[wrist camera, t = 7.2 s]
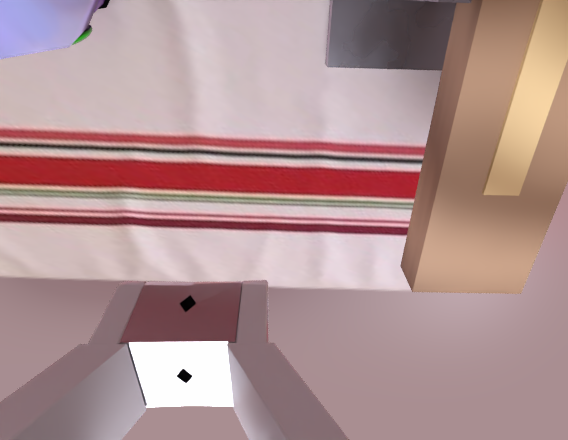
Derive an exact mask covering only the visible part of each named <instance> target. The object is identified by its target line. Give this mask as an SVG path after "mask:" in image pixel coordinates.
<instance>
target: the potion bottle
mask: <svg viewBox="0 0 568 440" xmlns="http://www.w3.org/2000/svg"><path fill="white" fill-rule="evenodd" d="M109 1H110V0H0V59H4V58H9V57H15V56H21V55H27V54H33V53H38V52H44V51H50V50H56V49H61V48H67V47H70V46H71V45H73V44H76V43H78V42H80V41H82V40H84V39H85V38H87V37H88V36H89V35H90V33H91V32H92V27H91V25H89V23H90V21H91V18H92V15H93V13H94V12H95V11H96V10H97V9H101V8H106V7H107V5H108V3H109Z"/></svg>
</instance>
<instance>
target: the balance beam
mask: <svg viewBox="0 0 568 440" xmlns="http://www.w3.org/2000/svg"><path fill="white" fill-rule="evenodd" d="M567 182H568V0H472V1H471V3H456V8H455V13H454V17H453V22H452V27H451V32H450V36H449V41H448V46H447V50H446V55H445V60H444V64H443V69H442V74H441V79H440V83H439V88H438V93H437V97H436V102H435V107H434V111H433V116H432V121H431V125H430V130H429V135H428V140H427V144H426V149H425V154H424V158H423V163H422V168H421V172H420V177H419V182H418V187H417V191H416V196H415V201H414V205H413V210H412V215H411V219H410V224H409V229H408V234H407V238H406V243H405V248H404V252H403V257H402V262H401V268H402V270H403V272H404V275H405V277H406V279H407V281H408V283H409V286H410V288H411V290H412V292H446V293H447V292H449V293H505V294H506V293H507V294H509V293H510V294H521V292H522V290H523V288H524V285H525V283H526V280H527V278H528V276H529V273H530V271H531V268H532V266H533V263H534V261H535V258H536V256H537V254H538V252H539V249H540V247H541V244H542V242H543V239H544V237H545V235H546V232H547V230H548V227H549V225H550V223H551V220H552V218H553V215H554V213H555V211H556V208H557V206H558V203H559V201H560V199H561V196H562V194H563V191H564V189H565V186H566V184H567Z"/></svg>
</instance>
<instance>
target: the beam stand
mask: <svg viewBox="0 0 568 440" xmlns="http://www.w3.org/2000/svg"><path fill="white" fill-rule="evenodd" d="M471 1H472V0H330V10H329V23H328V37H327V50H326V63H325V64H326V66H327V67H341V68H377V69H413V70H442V69H443V64H444V60H445V55H446V50H447V46H448V41H449V36H450V32H451V27H452V22H453V17H454V13H455V8H456V3H471Z"/></svg>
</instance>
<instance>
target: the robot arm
mask: <svg viewBox="0 0 568 440" xmlns="http://www.w3.org/2000/svg"><path fill="white" fill-rule="evenodd" d="M190 405H191V406H192V405H193V406H233V407H234V410H235V412H236V414H237V416H238V419H239V421H240V423H241V425H242V426H243V429H244V431H245V433H246V435H247V437H248V439H249V440H349V439H348V438H347V436H346V435H345V434H344V432H343V431H342V430H341V429H340V427H339V426H338V425H337V423H336V422H335V421H334V419H333V418H332V417H331V415H330V414H329V413H328V412H327V410H326V409H325V408H324V406H323V405H322V404H321V403H320V401H319V400H318V399H317V397H316V396H315V395H314V394H313V392H312V391H311V390H310V389H309V387H308V386H307V384H306V383H305V382H304V381H303V380H302V378H301V377H300V376H299V374H298V373H297V372H296V370H295V369H294V368H293V366H292V365H291V364H290V363H289V361H288V360H287V359H286V358H285V356H284V355H283V354H282V352H281V351H280V350H279V348H278V347H277V346H276V344H275V343H269V334H268V282H267V280H263V281H235V282H168V281H147V282H141V281H123V282H121V283H120V284H119V285H118V286H117V287H116V289H115V291H114V293H113V296H112V297H111V299H110V301H109V303H108V305H107V307H106V309H105V311H104V313H103V315H102V317H101V319H100V321H99V323H98V325H97V327H96V329H95V331H94V333H93V335H92V337H91V339H90V341H89V343H88V344H80V345H78V346H77V347H75V348H74V349H73V350H71V351H70V352H68V353H67V354H66V355H64V356H63V357H62V358H60V359H59V360H57V361H56V362H55V363H53V364H52V365H51V366H49V367H48V368H46V369H45V370H44V371H42V372H41V373H40V374H38V375H37V376H35V377H34V378H33V379H31V380H30V381H29V382H27V383H26V384H25V385H23V386H22V387H20V388H19V389H18V390H16V391H15V392H13V393H12V394H11V395H9V396H8V397H7V398H5V399H4V400H3V401H1V402H0V440H122V438H123V437H124V436H125V435H126V434H127V432H128V431H129V430H130V429H131V428H132V427H133V425H134V424H135V423H136V422H137V421H138V419H139V418H140V417H141V416H142V415H143V414H144V412H145V411H146V407H164V406H190Z"/></svg>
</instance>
